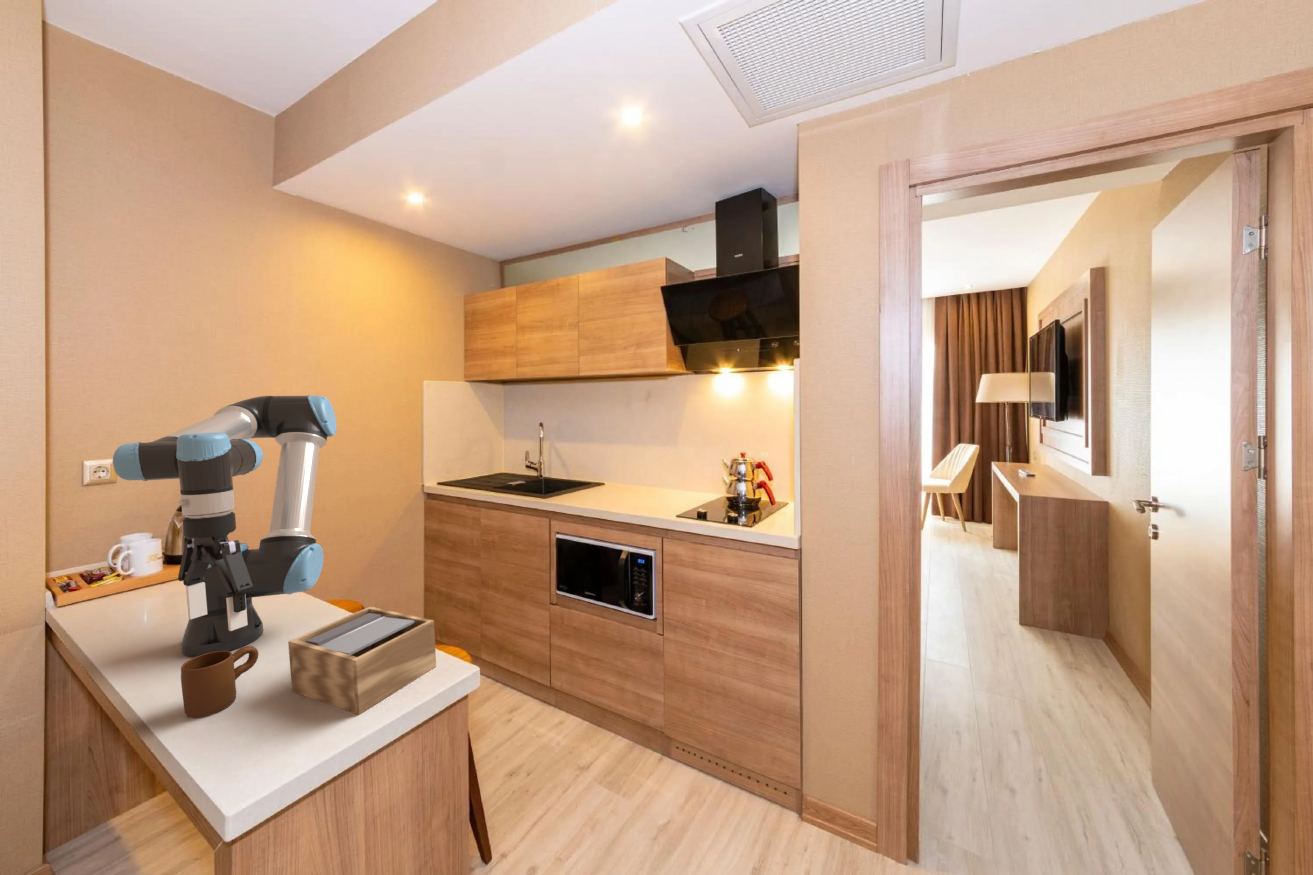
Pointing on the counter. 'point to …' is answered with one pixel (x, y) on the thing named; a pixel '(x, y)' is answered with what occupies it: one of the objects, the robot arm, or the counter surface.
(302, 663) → the trapdoor frame
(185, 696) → the mug
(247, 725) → the counter surface
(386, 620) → the trapdoor
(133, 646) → the counter surface
